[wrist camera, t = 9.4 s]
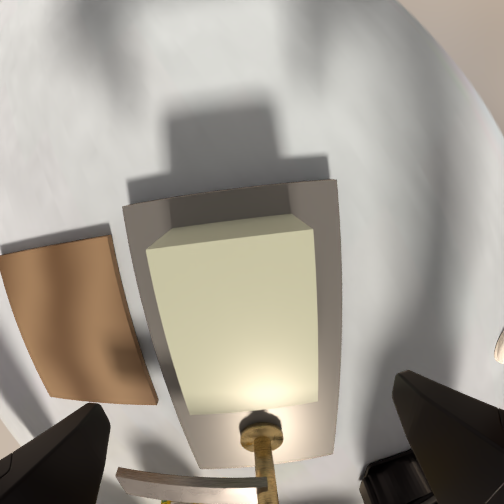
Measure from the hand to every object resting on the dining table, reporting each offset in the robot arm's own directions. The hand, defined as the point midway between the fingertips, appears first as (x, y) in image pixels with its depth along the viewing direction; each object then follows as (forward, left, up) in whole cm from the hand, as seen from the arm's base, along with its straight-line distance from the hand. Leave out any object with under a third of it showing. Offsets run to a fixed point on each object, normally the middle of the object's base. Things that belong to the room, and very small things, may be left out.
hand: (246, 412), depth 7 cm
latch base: (0, +5, -10) cm, 11 cm away
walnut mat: (+12, +2, -10) cm, 16 cm away
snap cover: (0, 0, -9) cm, 9 cm away
